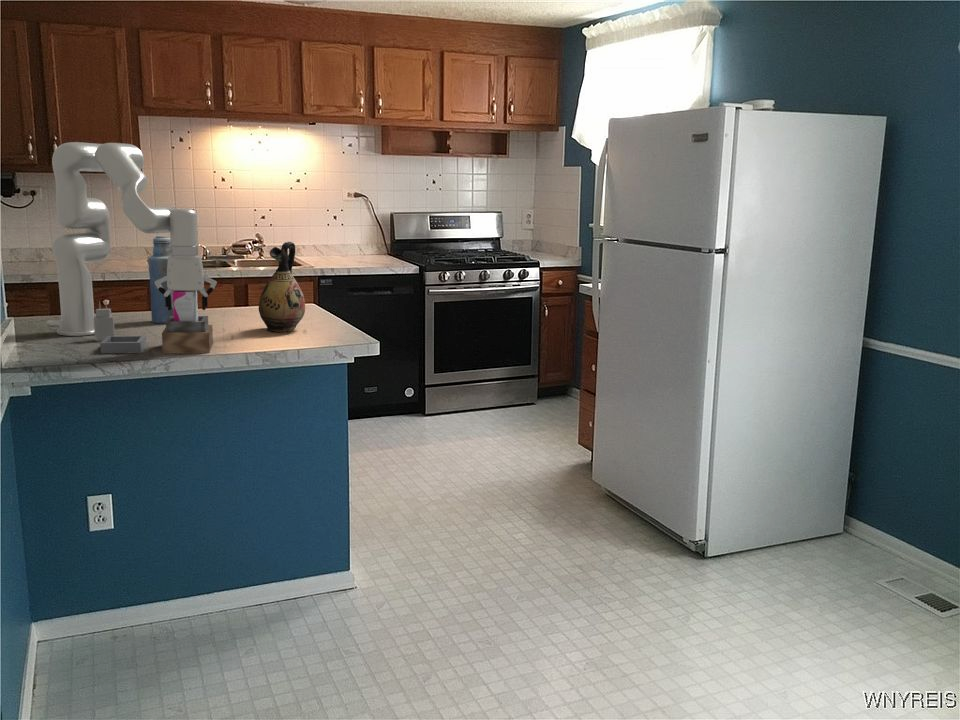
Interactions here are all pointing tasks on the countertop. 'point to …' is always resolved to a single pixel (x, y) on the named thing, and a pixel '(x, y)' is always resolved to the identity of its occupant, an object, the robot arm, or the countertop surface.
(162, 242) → the bottle
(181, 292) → the supplement box
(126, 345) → the low collar
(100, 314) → the power adapter
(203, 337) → the raised dock
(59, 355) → the countertop surface
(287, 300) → the ceramic jug
